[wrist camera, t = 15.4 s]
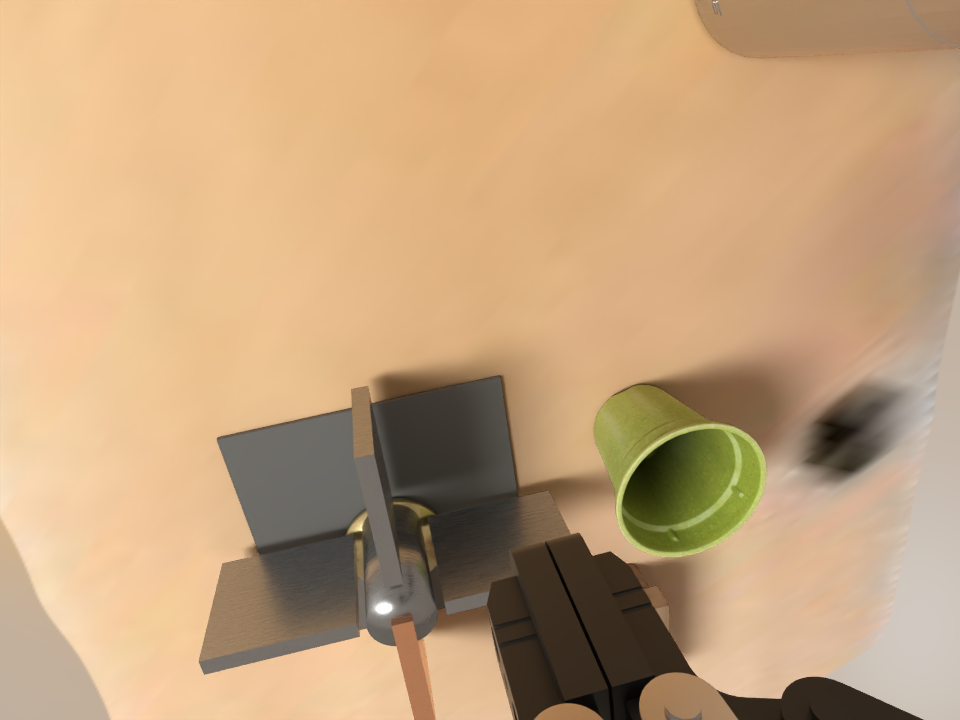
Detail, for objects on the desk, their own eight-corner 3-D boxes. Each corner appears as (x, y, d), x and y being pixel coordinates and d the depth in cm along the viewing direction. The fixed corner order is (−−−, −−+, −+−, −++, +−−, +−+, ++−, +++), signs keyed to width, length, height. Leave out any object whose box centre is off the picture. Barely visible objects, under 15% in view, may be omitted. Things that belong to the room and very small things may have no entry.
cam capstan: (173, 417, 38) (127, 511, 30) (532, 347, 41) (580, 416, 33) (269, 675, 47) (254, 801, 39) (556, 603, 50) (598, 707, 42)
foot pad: (499, 375, 42) (502, 380, 41) (530, 588, 50) (533, 595, 49) (217, 437, 40) (215, 444, 39) (296, 649, 48) (295, 658, 47)
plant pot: (663, 488, 48) (724, 567, 41) (550, 467, 46) (593, 547, 38) (716, 378, 45) (794, 440, 38) (599, 348, 43) (657, 409, 35)
